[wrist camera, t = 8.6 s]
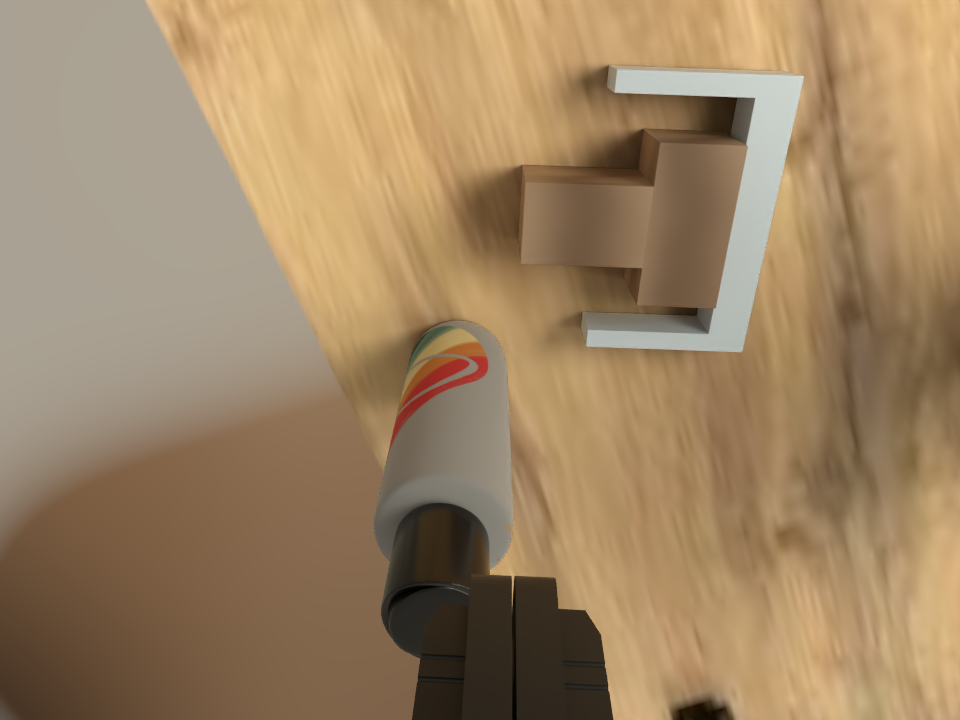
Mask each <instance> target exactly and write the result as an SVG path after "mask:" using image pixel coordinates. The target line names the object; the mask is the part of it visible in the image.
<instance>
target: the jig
mask: <svg viewBox="0 0 960 720" xmlns="http://www.w3.org/2000/svg"><path fill="white" fill-rule="evenodd" d="M803 79H804V76H802V75H797V74H793V73H789V72H784V71H761V70H733V69H705V68H677V67H650V66H622V65H609V70H608V79H607V88H609V89H610V90H611V91H613V92H614V93H635V94H662V95H690V96H718V97H737V103H736V108H735V113H734V119H733V124H732V129H731V135H730V136H731V137H733V138H735V139H737V140H738V141H740V142H742V143H744V144H746V145H747V146H748V149H747V154H746V159H745V164H744V169H743V174H742V179H741V184H740V189H739V194H738V199H737V204H736V209H735V214H734V219H733V225H732V230H731V235H730V240H729V245H728V250H727V255H726V260H725V265H724V270H723V275H722V280H721V285H720V290H719V295H718V300H717V305H716V308H698V311H697V316H690V315H662V314H634V313H606V312H583V313H582V322H581V330H582V333H583V337H584V341H585V344H586V347H612V348H640V349H668V350H696V351H724V352H742V350H743V346H744V341H745V337H746V332H747V328H748V323H749V319H750V315H751V310H752V306H753V301H754V297H755V292H756V288H757V283H758V279H759V275H760V270H761V266H762V261H763V257H764V252H765V248H766V243H767V239H768V235H769V230H770V226H771V221H772V217H773V212H774V208H775V203H776V199H777V195H778V190H779V186H780V181H781V177H782V172H783V168H784V163H785V159H786V155H787V150H788V146H789V141H790V137H791V132H792V128H793V124H794V119H795V115H796V110H797V106H798V101H799V97H800V92H801V88H802V84H803Z"/></svg>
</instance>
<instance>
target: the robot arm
mask: <svg viewBox="0 0 960 720" xmlns="http://www.w3.org/2000/svg"><path fill="white" fill-rule="evenodd" d="M412 720H613V715H612V708H611V701H610V694H609V691H608V681H607V674H606V668H605V660H604V653H603V647H602V640H601V634H600V633H599V631H598V630H597V628H596V627H595V625H594V623H593V622H592V620H591V619H590V617H589V616H588V614H587V612H586V611H585V610H566V609H558V597H557V586H556V579H555V578H547V577H526V576H515V578H514V591H513V607H512V578H511V576H500V575H479V574H471V585H470V599H469V605H457V604H439V606H438V607H437V609H436V610H435V612H434V613H433V615H432V617H431V618H430V620H429V621H428V623H427V624H426V626H425V629H424V636H423V643H422V651H421V659H420V666H419V673H418V682H417V687H416V695H415V702H414V709H413V716H412Z"/></svg>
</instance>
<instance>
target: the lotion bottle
mask: <svg viewBox="0 0 960 720" xmlns="http://www.w3.org/2000/svg"><path fill="white" fill-rule="evenodd" d="M374 533H375V538H376V541H377V544H378V546H379V548H380V550H381V551H382V553H383V554H384V556H385V557H386V558H387V559H388V560H389V561H390V564H389V569H388V574H387V579H386V585H385V590H384V595H383V600H382V606H381V616H382V620H383V624H384V626H385V628H386V630H387V632H388V633H389V635H390V636H391V638H392V639H393V641H394V642H395V643H396V644H397V645H398V646H399V647H400V648H401V649H402V650H404V651H405V652H407V653H410V654H412V655H414V656H416V657H418V658H421V651H422V643H423V636H424V629H425V626H426V624H427V623H428V621H429V620H430V618H431V617H432V615H433V613H434V612H435V610H436V609H437V607H438V606H439V604H457V605H469V599H470V585H471V574H479V575H490V570H491V569H492V568H493V567H494V566H496V565H497V564H498V563H499V562H500V561H501V559H502V558H503V557H504V555H505V554H506V552H507V550H508V548H509V546H510V543H511V539H512V534H513V498H512V474H511V450H510V426H509V402H508V378H507V365H506V358H505V354H504V351H503V349H502V346H501V345H500V343H499V341H498V340H497V339H496V337H495V336H494V335H493V334H492V333H491V332H489V331H488V330H487V329H485V328H484V327H482V326H480V325H477V324H475V323H472V322H467V321H448V322H444V323H441V324H438V325H436V326H434V327H432V328H430V329H429V330H428V331H426V332H425V333H424V334H423V335H422V336H421V338H420V339H419V340H418V341H417V343H416V345H415V347H414V349H413V352H412V355H411V358H410V362H409V365H408V370H407V374H406V378H405V383H404V387H403V391H402V396H401V400H400V404H399V409H398V413H397V417H396V422H395V426H394V430H393V435H392V439H391V443H390V448H389V452H388V456H387V461H386V465H385V469H384V474H383V478H382V482H381V487H380V491H379V496H378V501H377V505H376V511H375V516H374Z"/></svg>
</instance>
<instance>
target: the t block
mask: <svg viewBox="0 0 960 720" xmlns="http://www.w3.org/2000/svg"><path fill="white" fill-rule="evenodd" d="M747 149H748V146H747V145H746V144H744V143H742V142H740V141H738V140H737V139H735V138H733V137H731V136H729V135H728V134H726V133H724V132H720V131H692V130H663V129H643V135H642V143H641V151H640V158H639V166H638V169H626V168H598V167H569V166H541V165H522V180H521V198H520V215H519V232H518V244H519V253H520V262H521V264H538V265H567V266H595V267H624V268H625V272H624V280H625V282H626V284H627V286H628V288H629V290H630V292H631V294H632V297H633V299H634V301H635V303H636V305H637V306H660V307H689V308H716V305H717V300H718V295H719V290H720V285H721V280H722V275H723V270H724V265H725V260H726V255H727V250H728V245H729V240H730V235H731V230H732V225H733V219H734V214H735V209H736V204H737V199H738V194H739V189H740V184H741V179H742V174H743V169H744V164H745V159H746V154H747Z"/></svg>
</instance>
